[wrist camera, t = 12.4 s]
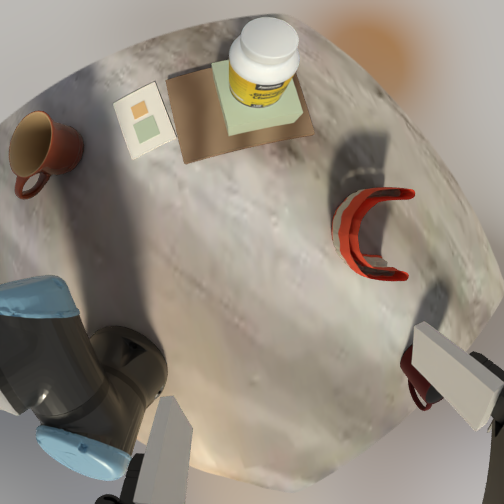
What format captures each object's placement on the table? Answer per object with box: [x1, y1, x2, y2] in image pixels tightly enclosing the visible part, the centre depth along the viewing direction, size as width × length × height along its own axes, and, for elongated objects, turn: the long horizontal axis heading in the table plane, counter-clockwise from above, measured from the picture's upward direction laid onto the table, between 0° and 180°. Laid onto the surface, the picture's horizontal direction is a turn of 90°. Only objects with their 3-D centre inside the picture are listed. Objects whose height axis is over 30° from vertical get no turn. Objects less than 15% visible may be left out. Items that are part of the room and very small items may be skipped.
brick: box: [211, 60, 303, 136], centre depth 30 cm, size 9×9×5 cm
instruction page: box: [113, 82, 177, 160], centre depth 33 cm, size 7×10×1 cm
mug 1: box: [9, 111, 84, 200], centre depth 28 cm, size 12×9×10 cm
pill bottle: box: [229, 17, 300, 108], centre depth 22 cm, size 6×6×12 cm
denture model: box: [332, 187, 415, 281], centre depth 35 cm, size 12×10×8 cm
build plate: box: [166, 68, 315, 164], centre depth 33 cm, size 18×13×1 cm
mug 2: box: [400, 345, 444, 411], centre depth 40 cm, size 12×9×11 cm
